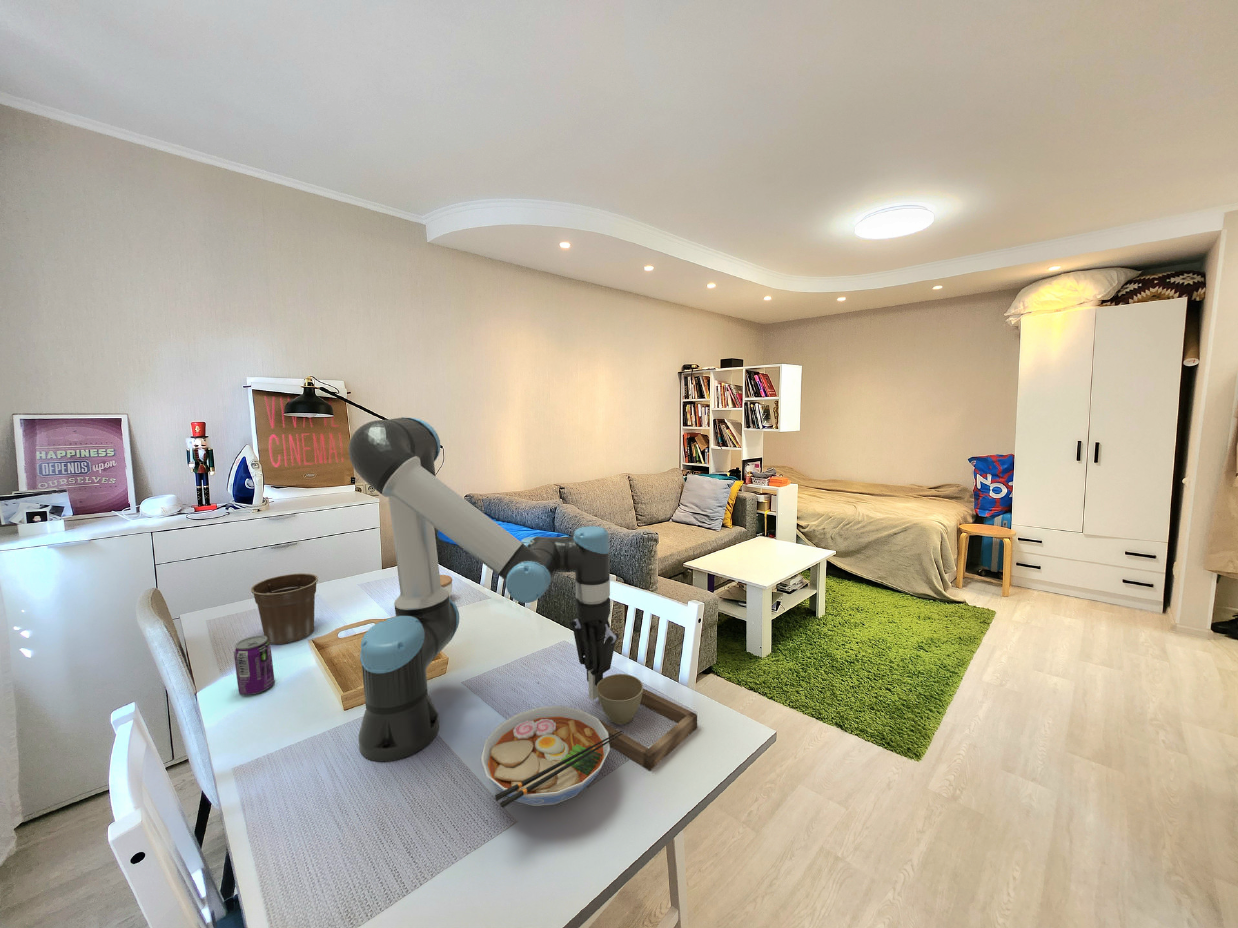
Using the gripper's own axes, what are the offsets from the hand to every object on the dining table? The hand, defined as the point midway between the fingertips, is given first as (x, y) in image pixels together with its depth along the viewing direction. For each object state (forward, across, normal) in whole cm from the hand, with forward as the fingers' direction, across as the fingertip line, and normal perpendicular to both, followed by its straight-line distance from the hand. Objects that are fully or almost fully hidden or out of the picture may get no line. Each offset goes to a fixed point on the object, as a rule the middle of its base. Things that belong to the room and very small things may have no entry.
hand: (595, 696), depth 114 cm
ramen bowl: (+2, -10, +22) cm, 24 cm away
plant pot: (+2, +91, +34) cm, 97 cm away
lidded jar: (+2, +80, -5) cm, 80 cm away
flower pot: (+2, -8, 0) cm, 8 cm away
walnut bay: (+2, -14, 0) cm, 14 cm away
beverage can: (+2, +66, +49) cm, 82 cm away
